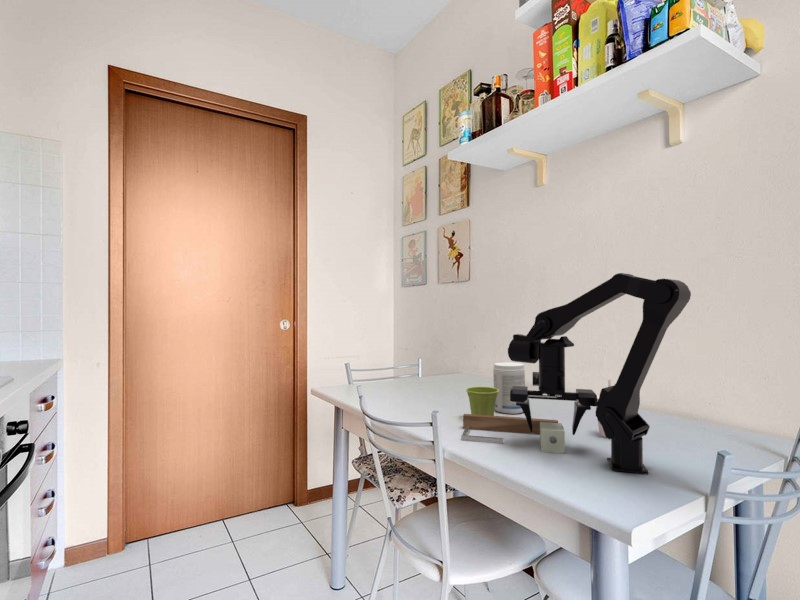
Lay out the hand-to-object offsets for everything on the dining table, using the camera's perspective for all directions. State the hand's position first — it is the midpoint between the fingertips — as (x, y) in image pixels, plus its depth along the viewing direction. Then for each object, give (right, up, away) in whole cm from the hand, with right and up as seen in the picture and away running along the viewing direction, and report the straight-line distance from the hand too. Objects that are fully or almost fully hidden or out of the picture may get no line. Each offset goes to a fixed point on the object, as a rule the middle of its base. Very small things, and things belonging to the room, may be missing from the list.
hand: (552, 432), depth 102 cm
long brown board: (-7, -4, +13) cm, 15 cm away
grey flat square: (-14, -4, +9) cm, 17 cm away
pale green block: (0, -4, 0) cm, 4 cm away
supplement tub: (-1, -4, +36) cm, 36 cm away
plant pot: (-11, -4, +25) cm, 28 cm away
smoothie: (+17, -4, +10) cm, 20 cm away
